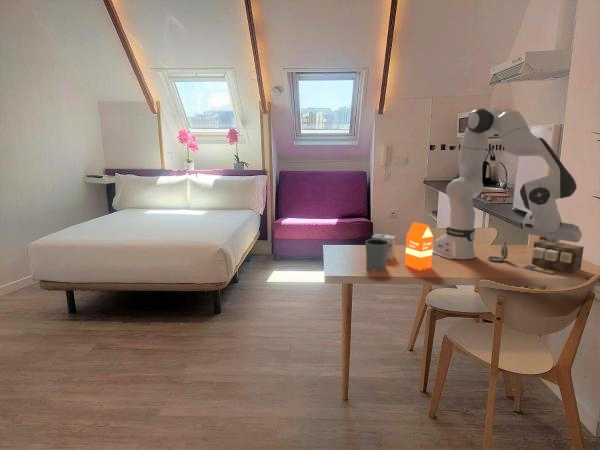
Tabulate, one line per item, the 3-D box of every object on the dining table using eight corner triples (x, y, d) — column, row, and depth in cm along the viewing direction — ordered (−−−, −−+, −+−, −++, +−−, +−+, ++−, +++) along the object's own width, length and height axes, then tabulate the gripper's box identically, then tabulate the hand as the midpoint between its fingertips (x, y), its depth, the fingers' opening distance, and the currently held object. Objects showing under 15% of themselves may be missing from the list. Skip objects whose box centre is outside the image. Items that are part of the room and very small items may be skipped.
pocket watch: (484, 259, 197) (486, 239, 195) (497, 257, 201) (499, 237, 198) (498, 264, 190) (501, 243, 188) (511, 261, 193) (514, 241, 191)
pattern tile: (523, 267, 184) (523, 266, 184) (527, 265, 187) (528, 264, 187) (552, 274, 175) (552, 273, 175) (556, 272, 178) (557, 271, 178)
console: (531, 263, 190) (534, 241, 188) (539, 260, 195) (541, 239, 193) (573, 273, 177) (576, 249, 175) (580, 269, 182) (583, 246, 180)
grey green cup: (382, 263, 191) (383, 238, 188) (390, 270, 181) (392, 244, 178) (361, 264, 189) (362, 239, 186) (369, 271, 179) (369, 245, 177)
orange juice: (419, 270, 180) (422, 226, 176) (404, 265, 188) (407, 222, 184) (431, 267, 185) (434, 224, 180) (416, 262, 192) (419, 221, 188)
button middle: (544, 259, 181) (545, 250, 181) (551, 256, 186) (552, 248, 185) (553, 261, 178) (555, 252, 178) (560, 258, 183) (561, 249, 182)
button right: (559, 261, 179) (560, 252, 178) (566, 258, 183) (567, 249, 183) (569, 263, 176) (570, 254, 175) (576, 260, 180) (577, 251, 180)
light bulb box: (370, 257, 200) (371, 236, 198) (373, 254, 206) (374, 233, 204) (392, 260, 196) (393, 238, 194) (394, 256, 202) (395, 235, 200)
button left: (531, 256, 185) (532, 248, 185) (538, 254, 190) (539, 245, 189) (541, 258, 182) (542, 250, 182) (548, 256, 187) (549, 247, 186)
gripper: (581, 218, 152) (586, 240, 160) (524, 211, 167) (531, 231, 175) (575, 232, 150) (581, 253, 158) (517, 223, 165) (525, 242, 173)
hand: (554, 241), depth 167 cm, fingers closed
